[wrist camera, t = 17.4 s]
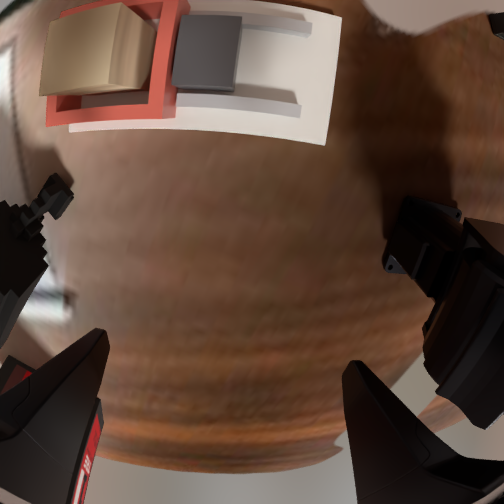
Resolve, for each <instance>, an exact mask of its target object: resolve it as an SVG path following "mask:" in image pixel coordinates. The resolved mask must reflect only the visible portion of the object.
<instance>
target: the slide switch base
mask: <svg viewBox="0 0 504 504" xmlns="http://www.w3.org/2000/svg"><path fill="white" fill-rule="evenodd" d="M119 2H122V3H123V4H124V5H126V6H127V7H128V8H129V9H131V10H132V11H133V12H134V13H136V14H137V15H138V16H139V17H140V18H142V19H143V20H144V21H145V22H147V23H148V24H149V25H150V26H151V27H152V28H154V29H155V30H156V31H157V38H156V44H155V51H154V58H153V65H152V73H151V81H150V90H149V91H140V92H125V93H114V94H105V95H96V96H90V95H57V96H47V107H46V127H49V126H57V125H64V124H69V132H80V131H93V130H111V129H187V130H206V131H220V132H232V133H242V134H252V135H260V136H268V137H276V138H283V139H289V140H296V141H302V142H308V143H314V144H319V145H324V146H325V142H326V136H327V130H328V124H329V117H330V111H331V104H332V97H333V90H334V83H335V75H336V67H337V59H338V51H339V42H340V32H341V22H342V18H341V17H338V16H334V15H330V14H327V13H323V12H318V11H314V10H310V9H305V8H300V7H295V6H289V5H283V4H277V3H270V2H262V1H253V0H101V1H97V2H93V3H89V4H85V5H82V6H78V7H75V8H72V9H68V10H65V11H62V12H61V14H60V18H62V17H65V16H68V15H72V14H75V13H78V12H82V11H85V10H89V9H93V8H97V7H101V6H105V5H110V4H114V3H119ZM182 15H228V16H242V38H241V45H240V52H239V59H238V66H237V74H236V81H235V89H234V92H226V91H210V90H183V89H181V88H178V87H175V86H173V85H171V82H172V74H173V66H174V59H175V52H176V46H177V39H178V33H179V27H180V22H181V17H182Z"/></svg>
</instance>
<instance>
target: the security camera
mask: <svg viewBox="0 0 504 504" xmlns="http://www.w3.org/2000/svg"><path fill="white" fill-rule="evenodd" d="M73 195H74V193H73V192H72V191H71V190H70V189H69V188H68V186H67V185H66V184H65V183H64V182H63V180H62V179H61V178H60V177H59V176H58V174H57V173H54V174H52V175H50V177H49V178H48V180H47V181H46V183H45V185H44V186H43V188H42V189H41V191H40V193H39V194H38V196H37V197H38V198H36V199H35V200H33V202H32V203H31V205H30V207H28V206H27V205H26V204H24V205H22V206H21V207H19V206H18V205H17V204H14V205H13V206H11V207H10V206H9V205H8V204H7V202H6V201H5V200H4V201H2V202H0V349H1V347H2V346H3V344H4V343H5V341H6V340H7V338H8V336H9V334H10V332H11V330H12V328H13V326H14V324H15V322H16V320H17V318H18V316H19V314H20V313H21V311H22V309H23V307H24V305H25V304H26V302H27V300H28V298H29V297H30V295H31V293H32V292H33V290H34V288H35V287H36V285H37V283H38V282H39V280H40V278H41V277H42V275H43V274H44V272H45V271H46V269H47V268H48V266H49V265H48V264H47V263H46V262H45V261H44V259H43V258H44V257H45V255H46V254H47V251H46V250H45V249H44V248H43V247H42V246H43V244H44V242H45V241H46V239H45V238H44V237H43V236H42V234H41V233H40V231H41V230H42V228H43V225H42V223H41V222H42V221H43V219H44V216H43V214H44V213H46V212H47V211H48V212H49V213H50V214H51V215H52V217H53V218H54V219H55V220H57V219H58V218H59V217H61V215H62V214H63V212H64V211H65V209H66V208H67V207H68V205H69V204H70V202H71V201H72V200H73V198H74V197H73Z"/></svg>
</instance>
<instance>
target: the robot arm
mask: <svg viewBox="0 0 504 504" xmlns="http://www.w3.org/2000/svg"><path fill="white" fill-rule="evenodd" d="M409 201H411V204H410V205H408V204H409ZM456 214H457V215H456ZM461 215H462V212H461V210H459V209H457V208H455V207H451V206H448V205H444V204H441V203H437V202H433V201H429V200H425V199H421V198H417V197H413V196H407V197H406V198H405V199H404V201H403V205H402V208H401V212H400V215H399V219H398V222H397V223H396V227H395V230H394V233H393V236H392V239H391V242H390V245H389V248H388V253H387V256H386V259H385V262H384V265H383V268H384V269H385V271H386V272H388V273H399V274H408V276H409V277H410V278H411V279H412V280H414V281H415V282H416V283H417V285H418V286H419V287H420V288H421V290H422V291H423V292H424V293H425V295H426V296H427V297H431V298H432V300H433V301H434V302H435V305H434V307H433V309H432V311H431V313H430V316H429V318H428V320H427V321H426V322H425V323H424V325H423V327H422V331H423V335H424V343H423V353H424V358H425V361H424V363H423V364H424V367H425V368H426V370H427V372H428V374H429V375H430V376H431V377H432V379H433V380H434V381H435V382H436V383H437V384H438V385H439V387H438V388H437V389H436V391H435V392H436V394H437V395H439V396H442V397H444V398H446V399H448V400H450V401H451V402H452V403H454V404H455V405H456V406H458V407H459V408H460V409H461V410H462V412H463V413H464V414H465V415H466V416H467V418H468V419H469V420H470V421H471V423H472V424H473V425H475V426H477V427H479V428H482V429H484V430H486V429H488V428H489V427H491V425H493V424H494V423H495V422H496V421H497V420H498V419H499V418H500V417H501V416H502V415H504V225H503V224H499V223H494V222H489V221H483V220H478V219H472V218H467V217H465V218H464V222H463V225H462V224H461V223H459V222H460V219H461ZM389 265H391V266H390V267H388V266H389ZM109 351H110V344H109V340H108V336H107V332H106V330H104V329H100V328H95V329H93V330H92V331H90V332H89V333H87V334H86V335H84V336H83V337H82V338H80V339H79V340H77V341H76V342H75V343H73V344H72V345H70V346H69V347H68V348H66V349H65V350H63V351H62V352H61V353H59V354H58V355H56V356H55V357H54V358H52V359H51V360H49V361H48V362H47V363H45V364H44V365H43V366H41V367H40V368H39V369H37V370H36V371H34V372H33V373H32V374H30V376H28V377H26V378H25V379H24V380H22V381H21V382H19V383H18V384H16V385H15V386H14V387H12V388H10V389H9V390H7V391H6V392H4V393H2V394H1V395H0V504H65V503H66V499H67V494H68V490H69V486H70V482H71V478H72V473H73V470H74V466H75V462H76V459H77V455H78V452H79V448H80V445H81V442H82V438H83V435H84V432H85V429H86V426H87V423H88V420H89V417H90V414H91V411H92V408H93V405H94V402H95V399H96V397H97V394H98V391H99V388H100V385H101V382H102V378H103V374H104V370H105V366H106V362H107V358H108V355H109ZM342 388H343V403H344V414H345V420H346V426H347V432H348V438H349V444H350V450H351V457H352V464H353V471H354V479H355V487H356V495H357V504H504V461H497V460H484V459H475V458H467V457H464V456H462V455H460V454H458V453H457V452H455V451H454V450H453V449H451V447H449V446H448V445H447V444H446V443H444V442H443V441H442V440H441V439H440V438H438V437H437V436H436V435H435V434H434V433H433V432H432V431H430V430H429V429H428V428H427V427H426V426H425V425H424V424H423V423H422V422H421V421H420V420H419V419H418V418H417V417H416V416H415V415H414V414H413V413H412V412H411V411H410V410H409V409H408V408H407V407H406V405H404V404H403V402H402V401H401V400H399V398H398V397H397V396H396V395H395V394H394V393H393V392H392V391H391V390H390V389H389V388H388V387H387V386H386V385H385V384H384V383H383V382H382V381H381V380H380V379H379V378H378V377H377V376H376V375H375V374H374V373H373V372H372V371H371V370H370V369H369V368H368V367H367V366H366V365H365V364H364V363H363V362H362V361H360V360H352V361H350V362H349V364H348V366H347V367H346V369H345V371H344V372H343V375H342Z"/></svg>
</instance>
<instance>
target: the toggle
mask: <svg viewBox="0 0 504 504" xmlns="http://www.w3.org/2000/svg"><path fill="white" fill-rule="evenodd" d="M241 38H242V16H228V15H182V17H181V22H180V27H179V33H178V39H177V46H176V52H175V59H174V66H173V74H172V82H171V85H173V86H175V87H178V88H181V89H183V90H210V91H226V92H234V89H235V81H236V74H237V66H238V59H239V52H240V45H241Z"/></svg>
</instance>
